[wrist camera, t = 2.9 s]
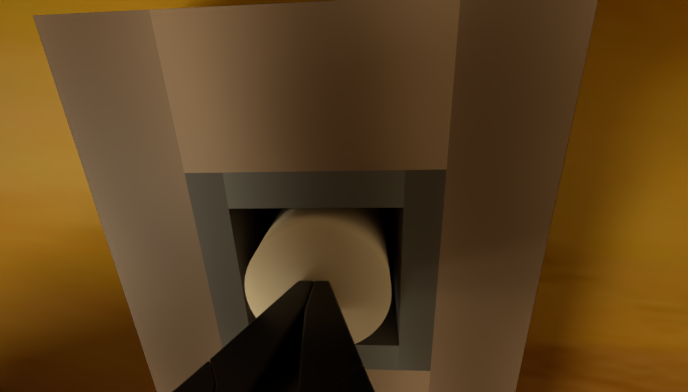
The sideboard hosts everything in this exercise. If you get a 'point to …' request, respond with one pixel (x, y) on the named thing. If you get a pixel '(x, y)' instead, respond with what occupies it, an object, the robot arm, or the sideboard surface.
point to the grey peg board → (329, 162)
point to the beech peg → (326, 262)
